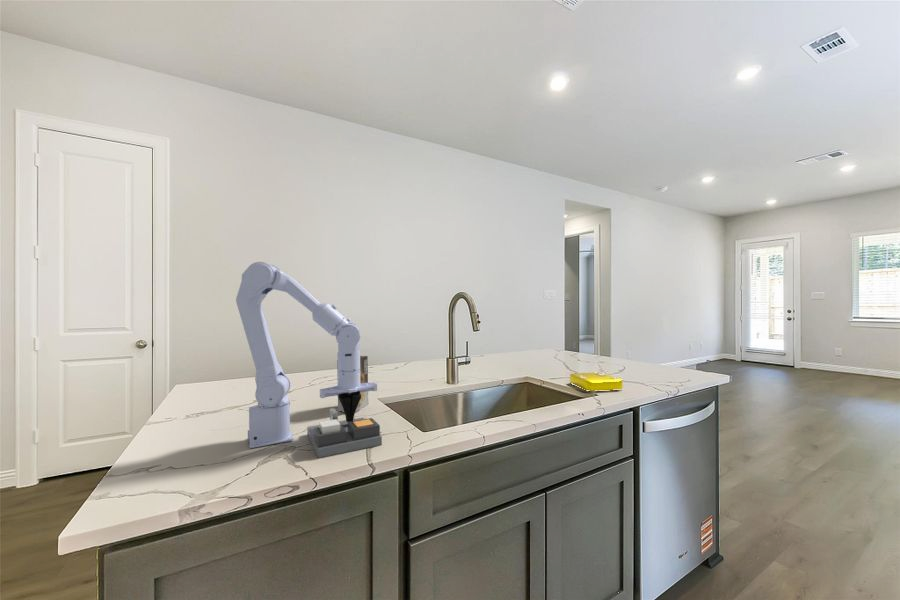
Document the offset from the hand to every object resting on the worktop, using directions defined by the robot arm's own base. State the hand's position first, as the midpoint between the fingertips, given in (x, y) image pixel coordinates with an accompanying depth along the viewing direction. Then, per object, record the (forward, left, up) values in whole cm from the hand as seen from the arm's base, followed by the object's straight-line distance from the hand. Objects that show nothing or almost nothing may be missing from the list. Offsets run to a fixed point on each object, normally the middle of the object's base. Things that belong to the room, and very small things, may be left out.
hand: (349, 421), depth 97 cm
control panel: (-3, -4, -3) cm, 6 cm away
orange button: (+1, -8, 0) cm, 8 cm away
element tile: (+95, +1, -4) cm, 95 cm away
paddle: (-4, 0, -1) cm, 4 cm away
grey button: (-7, -8, +1) cm, 10 cm away
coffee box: (+6, +21, -3) cm, 22 cm away
